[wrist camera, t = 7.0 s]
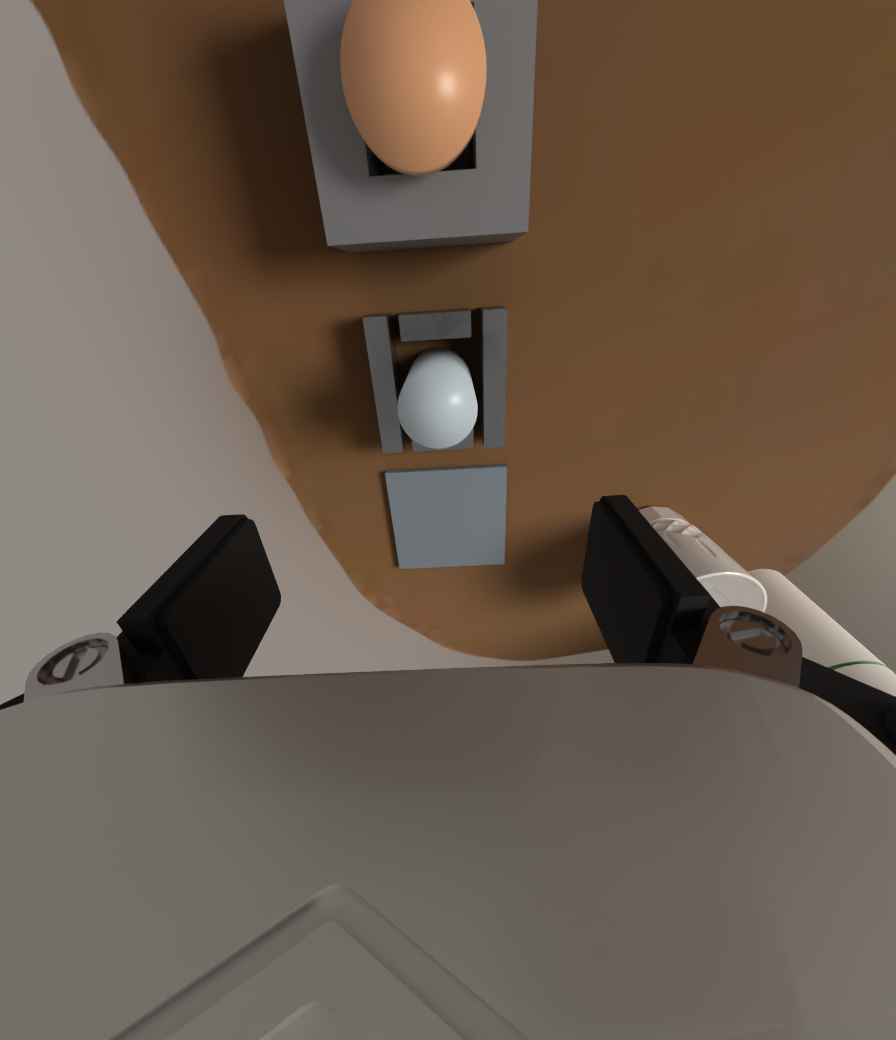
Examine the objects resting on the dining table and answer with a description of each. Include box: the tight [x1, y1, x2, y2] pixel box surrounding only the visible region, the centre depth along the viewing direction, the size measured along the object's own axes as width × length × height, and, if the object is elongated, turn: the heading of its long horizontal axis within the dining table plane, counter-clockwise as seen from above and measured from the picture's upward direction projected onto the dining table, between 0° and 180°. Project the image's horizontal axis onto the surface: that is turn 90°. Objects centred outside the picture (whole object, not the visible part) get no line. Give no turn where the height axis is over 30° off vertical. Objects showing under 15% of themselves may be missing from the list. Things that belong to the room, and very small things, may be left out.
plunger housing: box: [284, 0, 538, 253], centre depth 19 cm, size 10×10×6 cm
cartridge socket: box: [363, 306, 507, 453], centre depth 28 cm, size 9×9×2 cm
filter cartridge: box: [397, 346, 478, 449], centre depth 25 cm, size 4×4×8 cm
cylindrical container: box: [747, 569, 896, 697], centre depth 29 cm, size 7×7×25 cm
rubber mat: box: [385, 464, 507, 569], centre depth 35 cm, size 10×10×1 cm
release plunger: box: [340, 0, 487, 176], centre depth 18 cm, size 6×6×6 cm
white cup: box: [639, 506, 767, 612], centre depth 32 cm, size 8×8×10 cm
